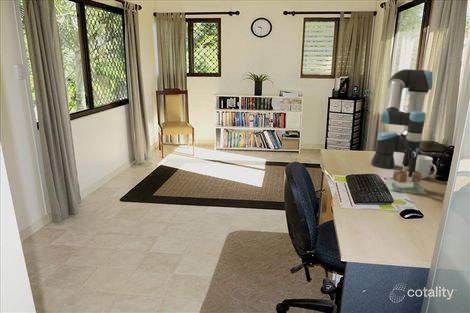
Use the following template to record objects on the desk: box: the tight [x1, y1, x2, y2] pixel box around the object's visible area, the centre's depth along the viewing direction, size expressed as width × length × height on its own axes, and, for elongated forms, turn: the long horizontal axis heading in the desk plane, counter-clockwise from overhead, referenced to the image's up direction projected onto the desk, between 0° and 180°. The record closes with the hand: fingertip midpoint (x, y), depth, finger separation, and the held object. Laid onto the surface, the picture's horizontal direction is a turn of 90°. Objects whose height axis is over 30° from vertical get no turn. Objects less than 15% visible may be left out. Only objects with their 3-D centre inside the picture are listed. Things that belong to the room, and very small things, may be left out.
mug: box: [415, 154, 438, 180], centre depth 218 cm, size 15×11×13 cm
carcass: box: [384, 175, 427, 195], centre depth 199 cm, size 13×19×5 cm
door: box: [392, 170, 422, 184], centre depth 198 cm, size 6×13×6 cm, turn 101°
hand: (406, 179), depth 198 cm, fingers closed on door, 8 cm apart
